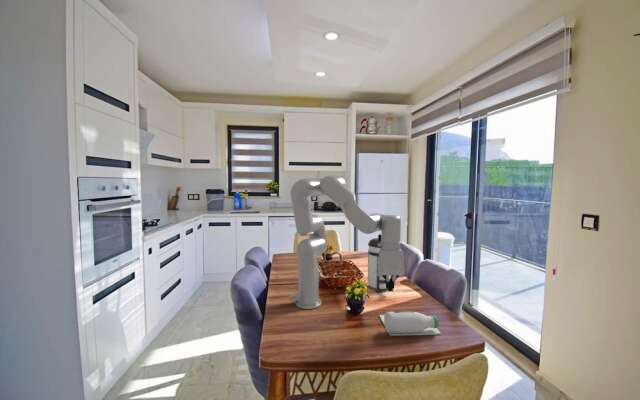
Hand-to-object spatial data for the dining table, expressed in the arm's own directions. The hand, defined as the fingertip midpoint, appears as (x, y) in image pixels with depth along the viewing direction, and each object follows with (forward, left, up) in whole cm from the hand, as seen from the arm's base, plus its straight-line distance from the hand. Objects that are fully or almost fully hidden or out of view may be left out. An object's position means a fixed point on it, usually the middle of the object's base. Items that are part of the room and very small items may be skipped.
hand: (390, 290), depth 119 cm
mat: (+8, 0, -15) cm, 17 cm away
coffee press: (+7, +40, -15) cm, 43 cm away
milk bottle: (-3, -7, -10) cm, 12 cm away
